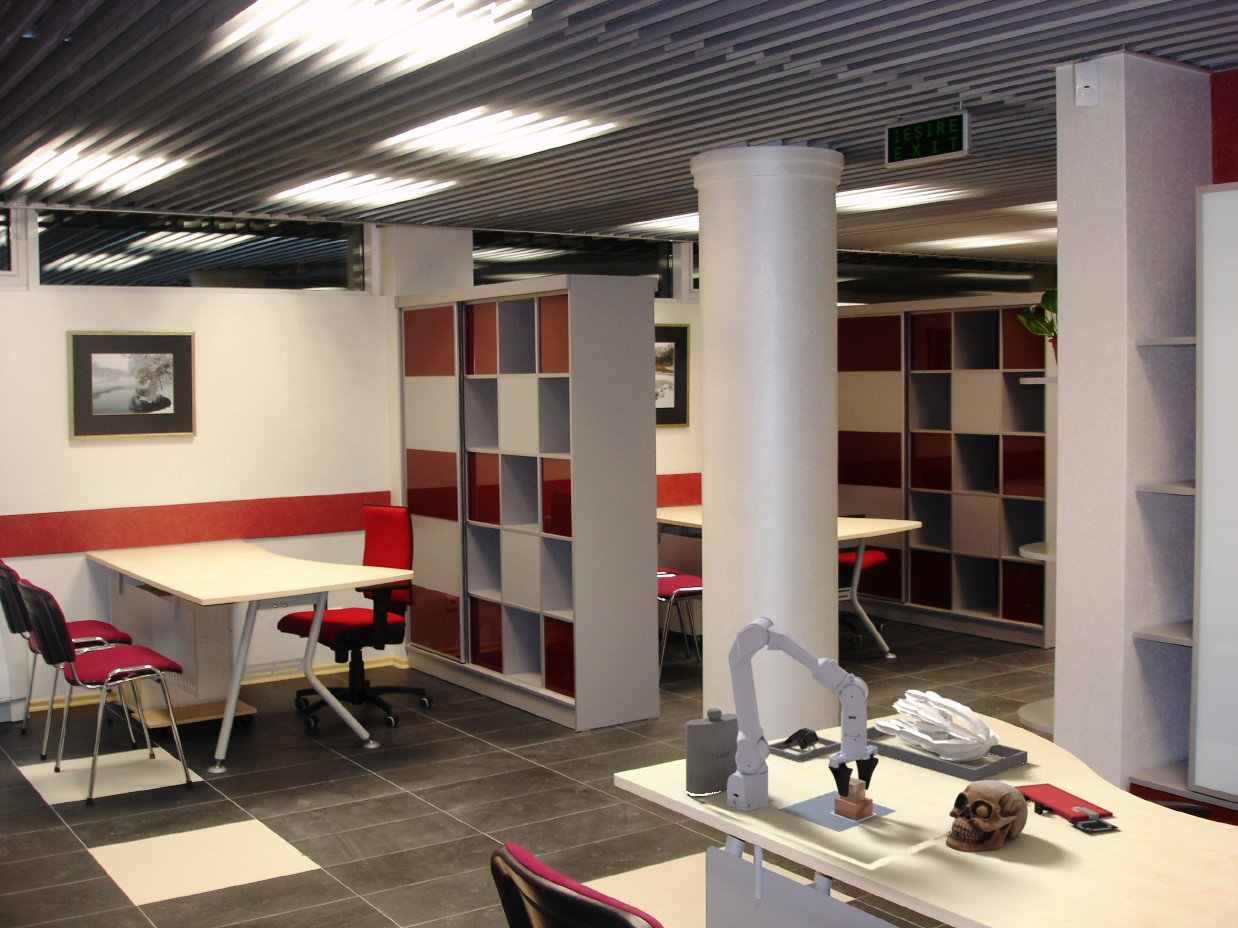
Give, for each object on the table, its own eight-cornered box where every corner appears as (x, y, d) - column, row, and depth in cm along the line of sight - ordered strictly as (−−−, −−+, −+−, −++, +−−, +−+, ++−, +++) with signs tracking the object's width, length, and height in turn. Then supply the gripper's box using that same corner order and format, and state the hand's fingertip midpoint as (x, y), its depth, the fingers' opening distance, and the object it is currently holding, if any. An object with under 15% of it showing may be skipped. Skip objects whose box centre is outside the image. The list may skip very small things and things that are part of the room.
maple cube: (853, 802, 262) (854, 785, 262) (840, 798, 265) (840, 780, 265) (865, 798, 264) (865, 781, 264) (851, 794, 267) (851, 776, 267)
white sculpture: (1023, 728, 302) (931, 695, 333) (978, 698, 295) (889, 667, 326) (994, 787, 299) (905, 749, 330) (949, 758, 292) (862, 722, 323)
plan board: (838, 836, 254) (838, 831, 254) (777, 813, 268) (777, 808, 268) (896, 814, 267) (896, 810, 266) (835, 794, 280) (835, 790, 280)
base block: (855, 820, 260) (855, 805, 260) (834, 813, 265) (834, 798, 265) (872, 814, 264) (872, 799, 264) (851, 807, 269) (851, 792, 269)
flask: (696, 799, 278) (695, 716, 276) (681, 792, 283) (681, 711, 281) (745, 788, 286) (745, 707, 284) (731, 781, 290) (730, 702, 289)
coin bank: (943, 847, 247) (947, 783, 247) (954, 828, 263) (957, 768, 263) (1021, 861, 240) (1025, 796, 241) (1027, 841, 256) (1031, 780, 257)
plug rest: (797, 761, 306) (797, 755, 306) (764, 751, 315) (764, 745, 315) (840, 748, 317) (840, 742, 317) (808, 738, 326) (808, 733, 326)
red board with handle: (1080, 836, 253) (1136, 829, 258) (1080, 823, 253) (1137, 817, 258) (995, 793, 282) (1047, 788, 286) (995, 782, 282) (1048, 777, 286)
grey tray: (974, 781, 289) (974, 770, 289) (845, 744, 320) (845, 734, 320) (1027, 762, 304) (1027, 751, 304) (899, 729, 335) (899, 718, 335)
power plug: (784, 742, 323) (815, 722, 316) (797, 767, 320) (828, 748, 313) (772, 745, 318) (803, 725, 312) (785, 771, 315) (817, 751, 309)
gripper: (846, 743, 256) (846, 803, 257) (888, 730, 265) (888, 789, 266) (822, 735, 261) (821, 795, 262) (863, 724, 271) (863, 781, 271)
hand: (853, 792), depth 264 cm, fingers open, 7 cm apart
